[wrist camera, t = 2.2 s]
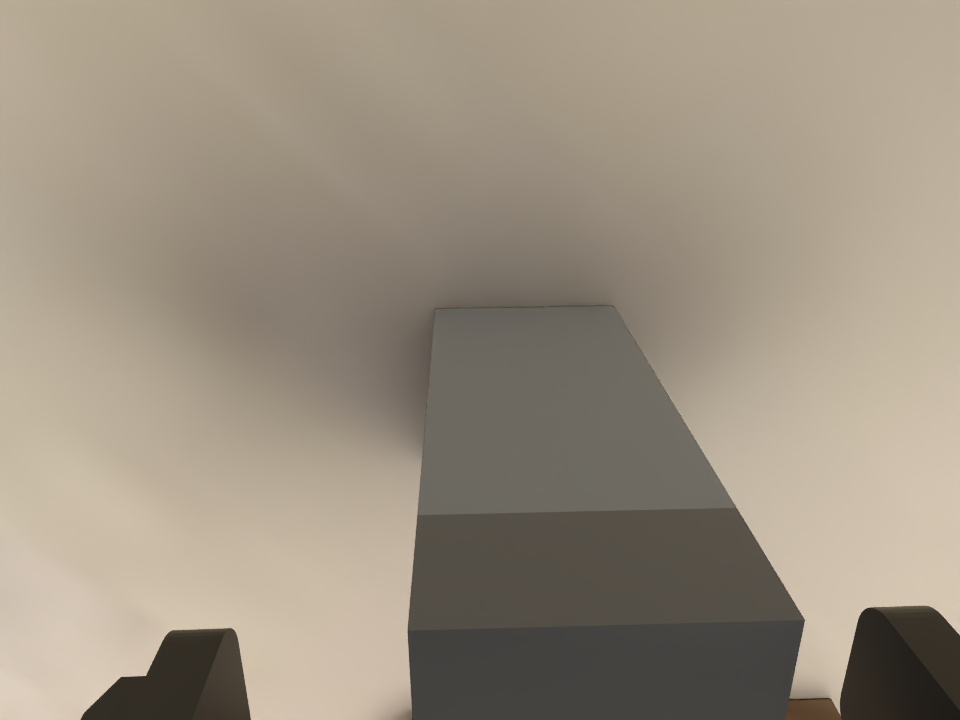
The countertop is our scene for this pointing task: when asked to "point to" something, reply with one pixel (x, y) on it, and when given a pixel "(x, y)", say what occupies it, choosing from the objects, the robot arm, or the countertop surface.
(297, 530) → the countertop surface
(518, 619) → the plug
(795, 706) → the socket block
